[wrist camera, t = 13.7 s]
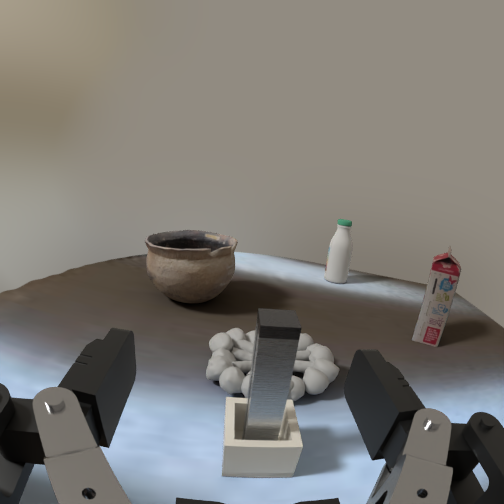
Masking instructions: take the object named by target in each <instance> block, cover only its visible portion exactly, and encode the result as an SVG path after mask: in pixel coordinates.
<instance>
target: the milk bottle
mask: <svg viewBox="0 0 504 504" xmlns="http://www.w3.org/2000/svg"><path fill="white" fill-rule="evenodd" d="M337 226H338V228H337V231H336V233H335V235H334V236H333V238H332V240H331V242H330V246H329V251H328V257H327V263H326V269H325V275H324V278H325V279H326V280H327V281H329V282H333V283H345V282H346V281H347V277H348V272H349V266H350V261H351V255H352V240H351V236H350V228H351V226H352V222H351V221H349V220H343V219H339V220H338V225H337Z"/></svg>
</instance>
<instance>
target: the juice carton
mask: <svg viewBox="0 0 504 504" xmlns="http://www.w3.org/2000/svg"><path fill="white" fill-rule="evenodd" d="M460 272H461V267H460V264H459V262H458V261H457V260H456V259H455V258H454V257H453V256H452V255H451V247H449V250H448V253H444V254H440V255H437V256H435V257H434V259H433V263H432V268H431V272H430V276H429V280H428V284H427V288H426V292H425V296H424V299H423V303H422V307H421V310H420V314H419V317H418V320H417V324H416V327H415V330H414V334H413V338H412V340H413V341H417V342H421V343H424V344H428V345H431V346H435V347H438V345H439V342H440V339H441V336H442V333H443V330H444V327H445V324H446V321H447V318H448V315H449V312H450V308H451V305H452V302H453V298H454V295H455V291H456V287H457V284H458V280H459V276H460Z"/></svg>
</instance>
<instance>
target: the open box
mask: <svg viewBox="0 0 504 504" xmlns="http://www.w3.org/2000/svg"><path fill="white" fill-rule="evenodd" d="M246 403H247V398H234V397H226V407H225V420H224V436H223V462H222V476H226V477H250V478H283V477H293V474H294V472H295V469H296V466H297V463H298V460H299V457H300V454H301V452H302V449H303V444H302V440H301V435H300V431H299V426H298V422H297V417H296V413H295V408H294V404H293V400H287V402H286V406H285V410H284V415H283V419H282V423H281V428H280V432H279V436H278V440H277V441H269V440H242V434H243V426H244V419H245V411H246Z"/></svg>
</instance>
